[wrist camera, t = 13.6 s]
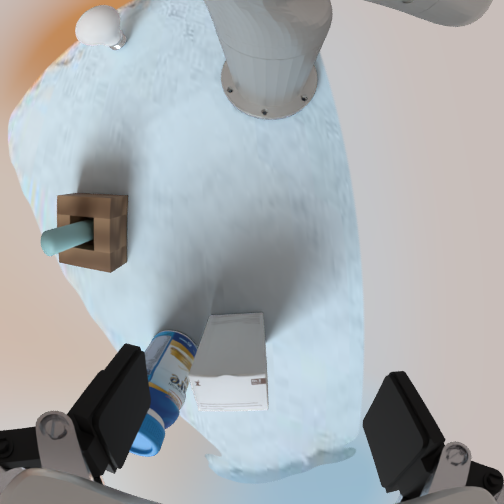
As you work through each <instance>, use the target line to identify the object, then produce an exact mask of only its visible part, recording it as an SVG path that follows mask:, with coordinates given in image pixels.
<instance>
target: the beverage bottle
mask: <svg viewBox="0 0 504 504" xmlns="http://www.w3.org/2000/svg"><path fill="white" fill-rule="evenodd" d="M196 352H197V347H196V345H195V344H194V342H193V341H192V340H191V339H190V338H189V337H187V336H186V335H184V334H182V333H180V332H177V331H172V330H166V331H162V332H160V333H158V334H157V335H155V336H154V338H153V339H152V341H151V343H150V345H149V346H148V348H147V349H146V351H145V352H144V353H145V359H146V368H147V376H148V383H149V390H150V396H151V405H150V408H149V410H148V412H147V414H146V416H145V418H144V421H143V423H142V425H141V427H140V429H139V431H138V434H137V436H136V438H135V440H134V442H133V444H132V447H131V449H130V451H129V452H131V453H133V454H136V455H140V456H147V457H150V456H154V455H156V454H157V453H158V452H159V451H160V449H161V446H162V443H163V440H164V437H165V429H166V428H168V427H170V426H171V425H172V424H173V423H174V422H175V421H176V419H177V418H178V416H179V410H180V409H181V408H182V406H183V404H184V402H185V398H186V390H187V388H188V385H189V382H190V380H189V377H188V374H189V372H190V369H191V366H192V364H193V361H194V358H195V355H196Z"/></svg>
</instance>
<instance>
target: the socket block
mask: <svg viewBox="0 0 504 504" xmlns="http://www.w3.org/2000/svg"><path fill="white" fill-rule="evenodd" d="M127 208H128V195H111V194H90V193H73V194H65V195H58V196H57V228H58V227H62V226H65V225H69V224H73V223H77V222H80V221H84V220H88V219H92V218H94V239H93V240H90V241H88V242H85V243H82V244H80V245H77V246H75V247H72V248H70V249H67V250H65V251H62V252H60V253H59V262H60V263H65V264H70V265H74V266H79V267H84V268H89V269H94V270H99V271H104V272H109V273H111V272H113V271H114V270H116V269H117V268H119V267H120V266H122V265H123V264H125V263H126V262H127Z"/></svg>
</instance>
